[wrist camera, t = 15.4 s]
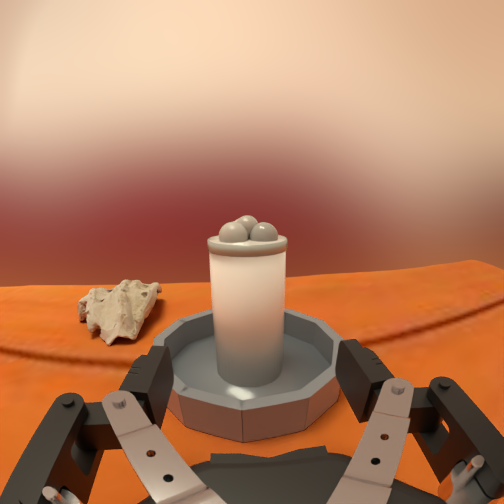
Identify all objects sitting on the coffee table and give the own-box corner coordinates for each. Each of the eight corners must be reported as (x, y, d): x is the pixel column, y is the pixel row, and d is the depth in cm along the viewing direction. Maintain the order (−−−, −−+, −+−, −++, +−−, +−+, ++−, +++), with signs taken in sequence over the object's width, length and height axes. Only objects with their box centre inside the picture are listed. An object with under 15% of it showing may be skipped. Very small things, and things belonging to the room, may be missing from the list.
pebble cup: (271, 347, 28) (273, 212, 25) (292, 381, 22) (299, 217, 19) (212, 354, 27) (204, 214, 24) (220, 392, 21) (210, 220, 18)
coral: (132, 348, 28) (123, 306, 27) (61, 332, 30) (53, 296, 29) (179, 302, 43) (176, 270, 42) (118, 296, 45) (114, 268, 44)
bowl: (299, 325, 35) (300, 299, 34) (373, 407, 18) (383, 375, 18) (162, 338, 31) (159, 311, 30) (155, 449, 15) (143, 417, 14)
